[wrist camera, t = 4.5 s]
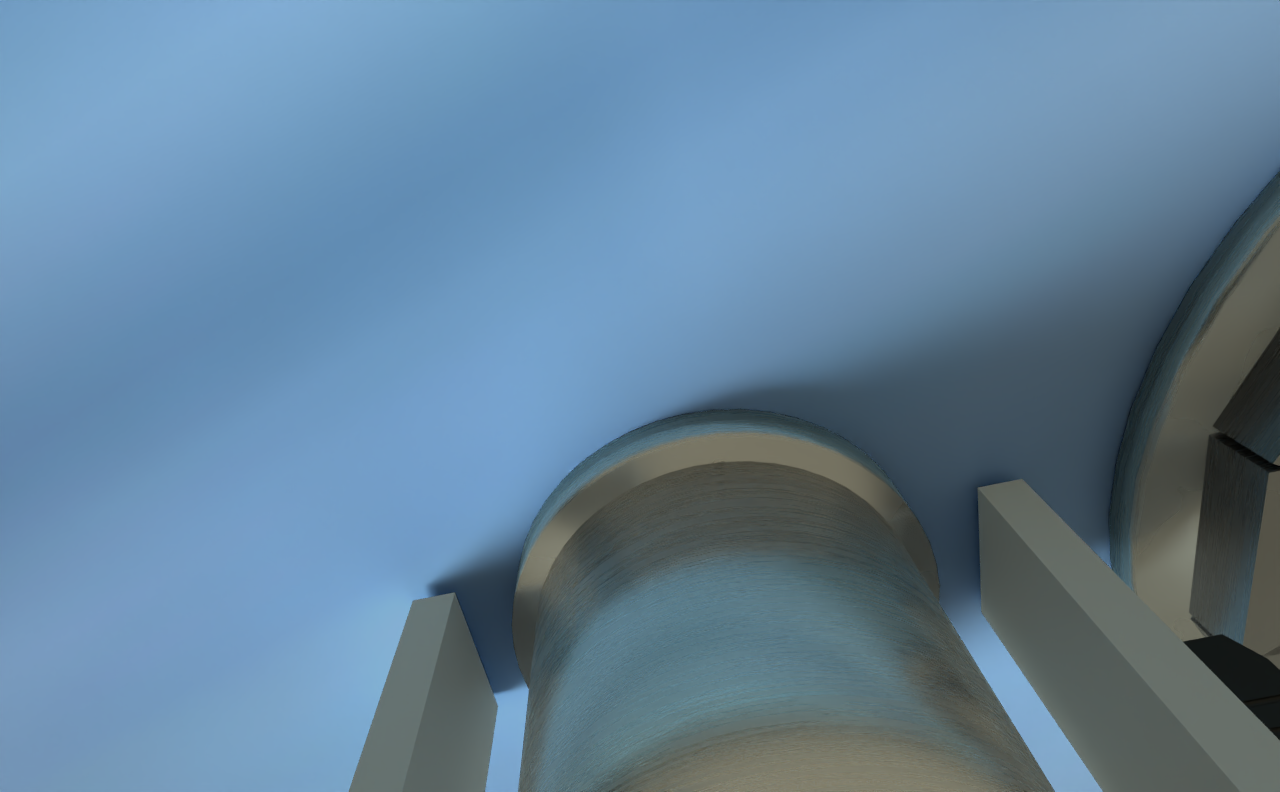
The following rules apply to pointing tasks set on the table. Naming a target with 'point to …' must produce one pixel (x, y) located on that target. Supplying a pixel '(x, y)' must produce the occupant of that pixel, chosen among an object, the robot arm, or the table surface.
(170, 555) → the table surface
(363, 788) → the robot arm
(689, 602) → the knob
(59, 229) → the table surface
